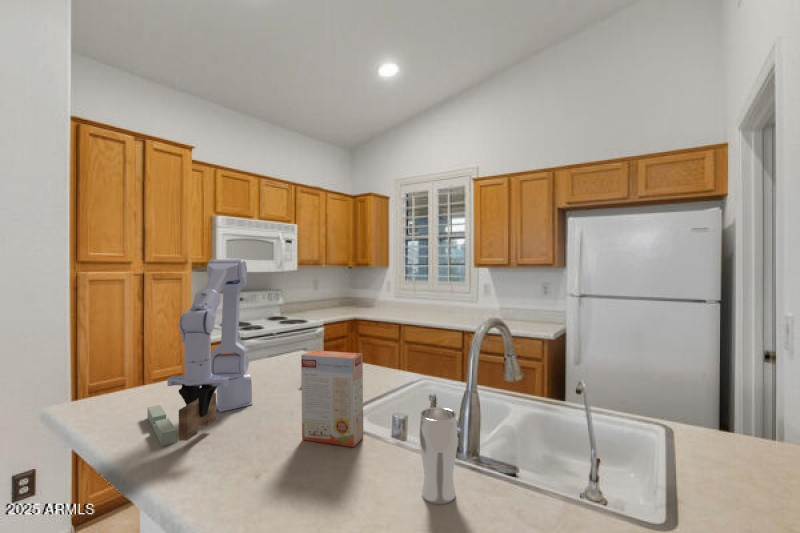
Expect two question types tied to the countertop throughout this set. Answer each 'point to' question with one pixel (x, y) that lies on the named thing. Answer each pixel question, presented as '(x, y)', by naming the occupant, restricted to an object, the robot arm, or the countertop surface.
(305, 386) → the cracker box
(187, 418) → the walnut plate
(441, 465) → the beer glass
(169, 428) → the slotted rail
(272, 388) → the countertop surface
